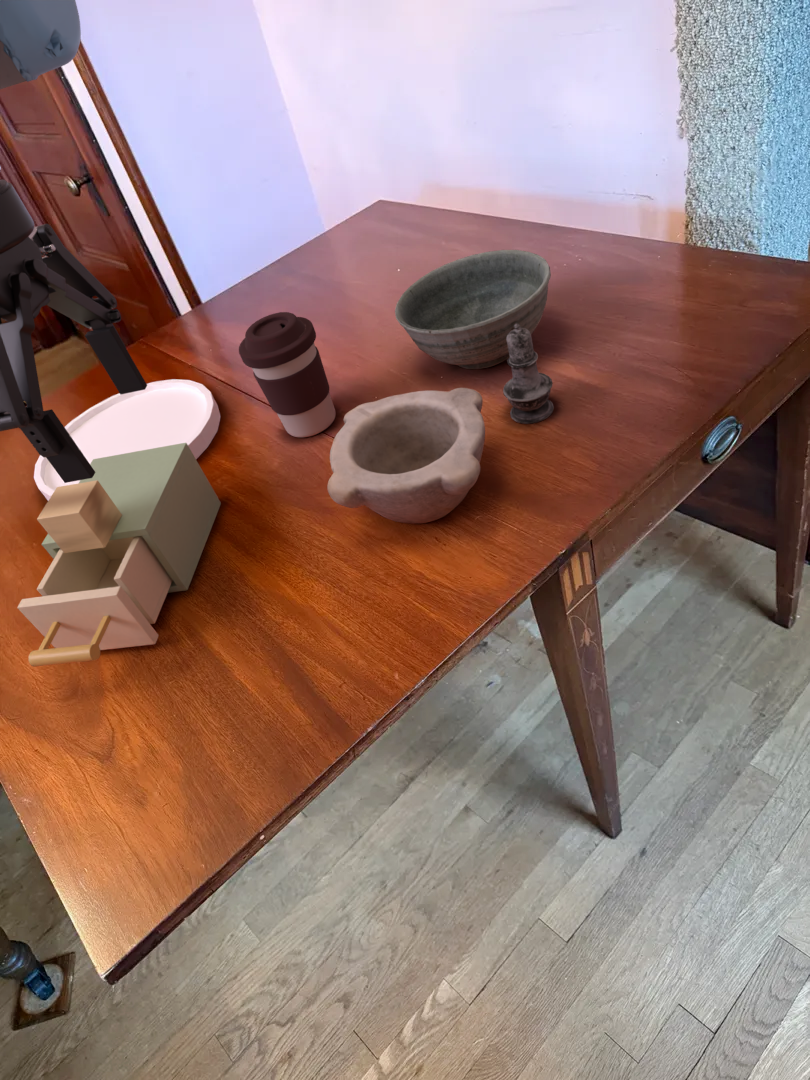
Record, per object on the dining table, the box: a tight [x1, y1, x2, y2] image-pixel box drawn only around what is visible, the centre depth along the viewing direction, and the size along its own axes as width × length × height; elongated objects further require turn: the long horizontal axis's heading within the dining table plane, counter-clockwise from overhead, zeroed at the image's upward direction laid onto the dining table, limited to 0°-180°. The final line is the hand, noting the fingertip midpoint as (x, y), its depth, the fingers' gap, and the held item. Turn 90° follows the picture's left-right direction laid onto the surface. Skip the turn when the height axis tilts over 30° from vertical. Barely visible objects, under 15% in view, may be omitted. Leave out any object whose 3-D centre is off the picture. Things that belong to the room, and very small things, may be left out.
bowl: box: [394, 249, 552, 370], centre depth 101 cm, size 21×21×10 cm
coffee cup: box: [238, 311, 336, 438], centre depth 98 cm, size 10×10×15 cm
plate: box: [33, 378, 221, 502], centre depth 110 cm, size 28×28×2 cm
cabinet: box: [41, 443, 222, 594], centre depth 88 cm, size 15×13×10 cm
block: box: [36, 480, 122, 553], centre depth 78 cm, size 5×5×5 cm
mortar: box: [326, 387, 486, 524], centre depth 82 cm, size 17×17×9 cm
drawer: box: [17, 536, 173, 668], centre depth 80 cm, size 19×12×8 cm, turn 174°
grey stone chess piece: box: [502, 323, 555, 425], centre depth 87 cm, size 6×6×12 cm
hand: (109, 431), depth 68 cm, fingers open, 13 cm apart
